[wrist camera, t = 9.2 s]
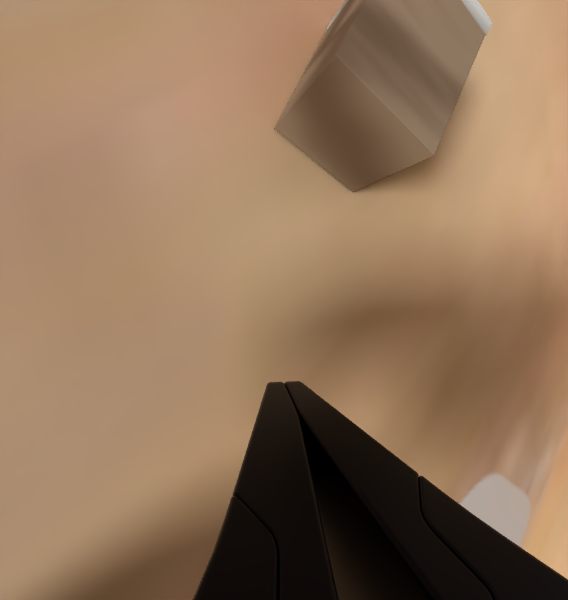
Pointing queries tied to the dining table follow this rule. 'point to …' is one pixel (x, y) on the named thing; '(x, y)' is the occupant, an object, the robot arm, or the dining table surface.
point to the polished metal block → (383, 85)
